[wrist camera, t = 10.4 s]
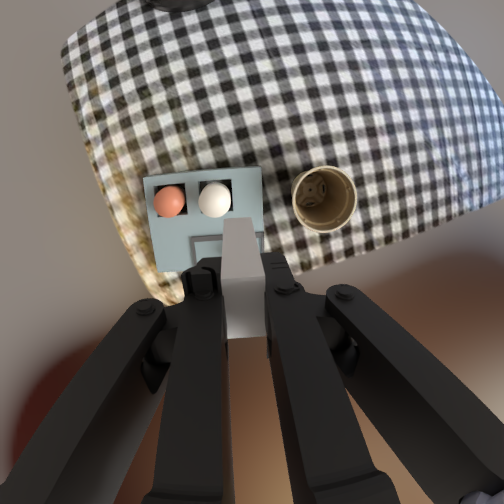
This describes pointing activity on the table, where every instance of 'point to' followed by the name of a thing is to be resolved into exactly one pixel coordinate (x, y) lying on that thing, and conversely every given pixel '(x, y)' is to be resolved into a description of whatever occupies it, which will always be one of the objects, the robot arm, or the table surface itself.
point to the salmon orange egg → (169, 200)
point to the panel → (201, 216)
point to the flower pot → (323, 198)
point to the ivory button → (214, 200)
